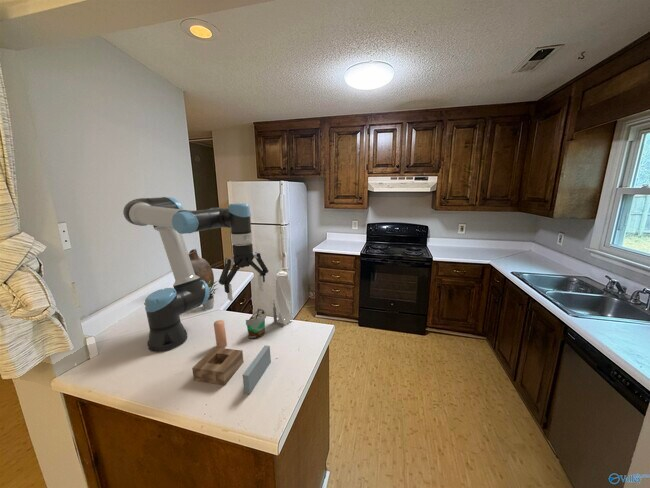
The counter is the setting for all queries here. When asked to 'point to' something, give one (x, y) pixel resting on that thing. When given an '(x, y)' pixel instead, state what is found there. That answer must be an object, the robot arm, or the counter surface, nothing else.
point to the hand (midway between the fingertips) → (246, 294)
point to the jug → (201, 267)
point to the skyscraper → (282, 298)
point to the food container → (256, 324)
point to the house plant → (210, 298)
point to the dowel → (220, 334)
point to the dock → (256, 369)
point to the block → (218, 366)
